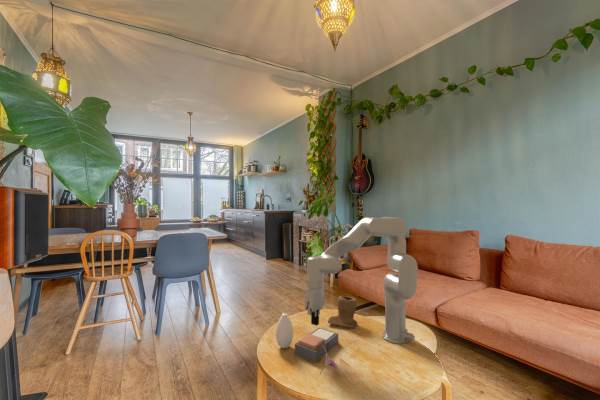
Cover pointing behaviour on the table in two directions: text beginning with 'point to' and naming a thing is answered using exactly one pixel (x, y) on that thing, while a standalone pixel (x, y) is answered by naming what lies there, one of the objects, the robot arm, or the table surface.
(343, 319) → the brown boot
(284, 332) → the sauce bottle
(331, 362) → the lily
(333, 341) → the key console
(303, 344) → the key terracotta
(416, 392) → the table surface
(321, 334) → the key white
